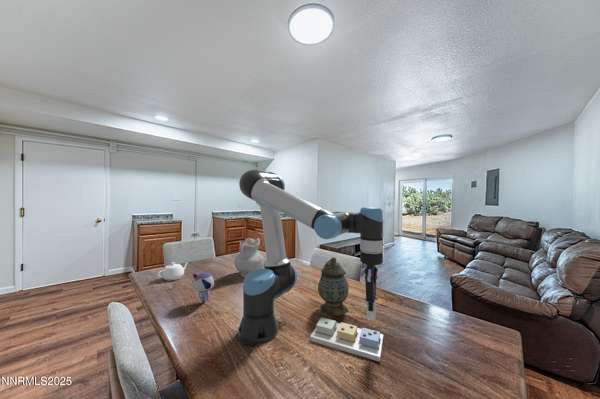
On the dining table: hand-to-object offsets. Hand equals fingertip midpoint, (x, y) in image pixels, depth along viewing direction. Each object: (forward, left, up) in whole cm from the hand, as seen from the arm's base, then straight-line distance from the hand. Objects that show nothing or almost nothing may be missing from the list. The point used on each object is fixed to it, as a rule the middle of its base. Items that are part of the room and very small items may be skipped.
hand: (371, 318), depth 78 cm
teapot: (-123, +15, -11) cm, 125 cm away
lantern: (-19, +20, -11) cm, 30 cm away
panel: (-8, 0, -11) cm, 14 cm away
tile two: (-8, 0, -8) cm, 12 cm away
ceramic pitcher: (-84, +41, -11) cm, 94 cm away
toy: (-79, -1, -11) cm, 80 cm away
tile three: (0, 0, -8) cm, 8 cm away
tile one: (-16, 0, -8) cm, 18 cm away
